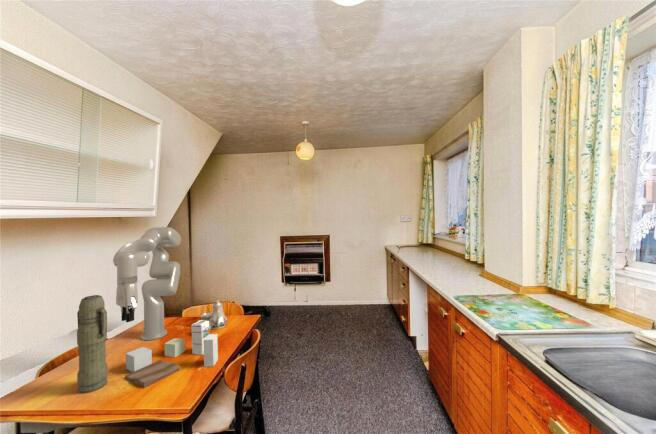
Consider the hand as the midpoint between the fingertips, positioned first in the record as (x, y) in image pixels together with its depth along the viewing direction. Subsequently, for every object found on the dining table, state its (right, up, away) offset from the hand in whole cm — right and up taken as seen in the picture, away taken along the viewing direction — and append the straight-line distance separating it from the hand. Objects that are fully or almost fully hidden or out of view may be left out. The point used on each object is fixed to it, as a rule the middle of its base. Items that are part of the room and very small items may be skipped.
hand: (127, 320), depth 125 cm
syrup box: (+30, -19, +9) cm, 36 cm away
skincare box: (+39, -19, -3) cm, 43 cm away
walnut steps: (+18, -19, -10) cm, 28 cm away
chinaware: (+22, -20, +40) cm, 50 cm away
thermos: (0, -19, -18) cm, 26 cm away
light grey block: (+8, -19, -5) cm, 21 cm away
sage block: (+17, -19, +7) cm, 27 cm away
